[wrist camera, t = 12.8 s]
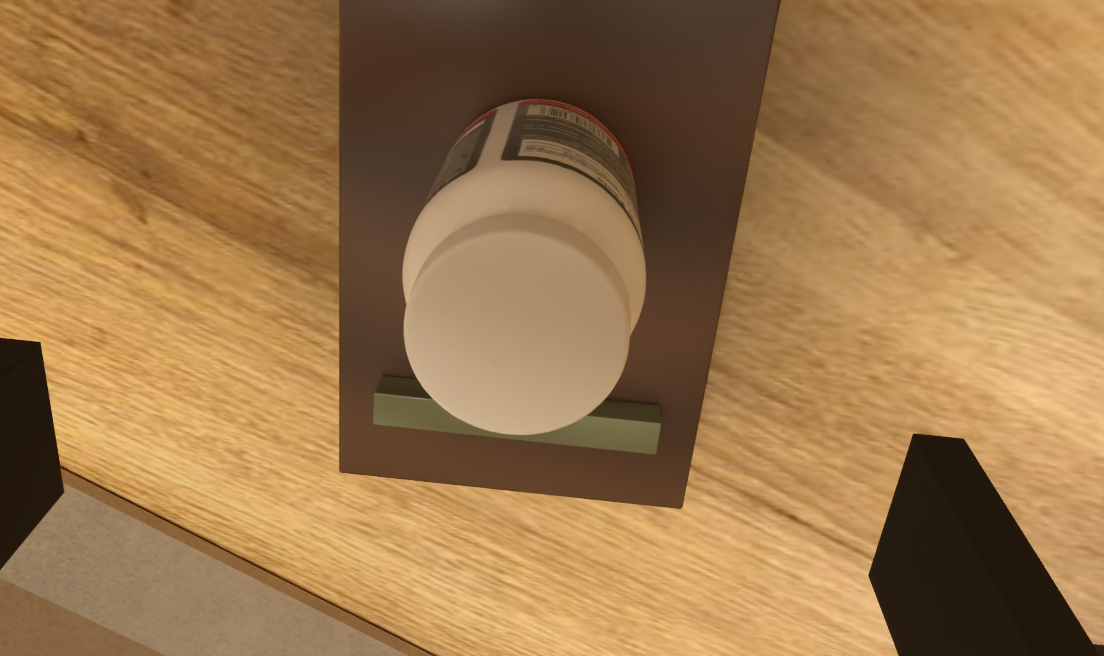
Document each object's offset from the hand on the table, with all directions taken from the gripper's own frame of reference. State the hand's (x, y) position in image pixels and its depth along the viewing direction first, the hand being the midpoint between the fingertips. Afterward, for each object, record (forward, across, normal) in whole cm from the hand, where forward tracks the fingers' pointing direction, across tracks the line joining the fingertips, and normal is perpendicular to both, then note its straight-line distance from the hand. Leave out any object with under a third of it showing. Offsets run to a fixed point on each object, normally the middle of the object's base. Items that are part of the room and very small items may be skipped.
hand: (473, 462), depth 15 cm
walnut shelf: (+21, 0, -1) cm, 21 cm away
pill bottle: (+15, 0, -1) cm, 15 cm away
